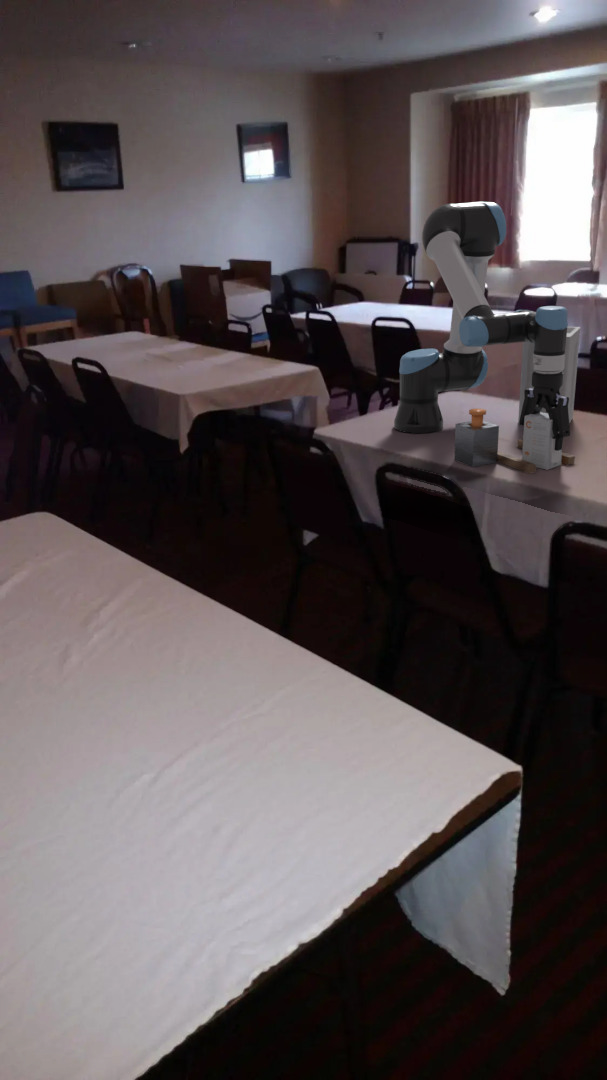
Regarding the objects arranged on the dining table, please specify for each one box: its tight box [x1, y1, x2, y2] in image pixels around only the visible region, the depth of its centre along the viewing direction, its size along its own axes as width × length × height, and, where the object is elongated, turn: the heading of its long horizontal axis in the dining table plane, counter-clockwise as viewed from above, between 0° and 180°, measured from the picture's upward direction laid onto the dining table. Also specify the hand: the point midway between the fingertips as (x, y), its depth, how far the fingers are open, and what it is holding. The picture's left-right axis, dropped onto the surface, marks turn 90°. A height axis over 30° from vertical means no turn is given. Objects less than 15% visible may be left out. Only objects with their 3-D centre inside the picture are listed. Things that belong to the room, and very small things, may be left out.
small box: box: [521, 412, 564, 471], centre depth 208 cm, size 8×6×13 cm
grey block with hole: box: [454, 420, 500, 468], centre depth 214 cm, size 8×8×10 cm
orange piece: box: [468, 408, 487, 427], centre depth 212 cm, size 4×4×7 cm
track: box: [497, 438, 575, 474], centre depth 215 cm, size 20×15×2 cm
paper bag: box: [517, 326, 581, 425], centre depth 242 cm, size 19×15×28 cm
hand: (541, 457), depth 209 cm, fingers closed on small box, 9 cm apart
